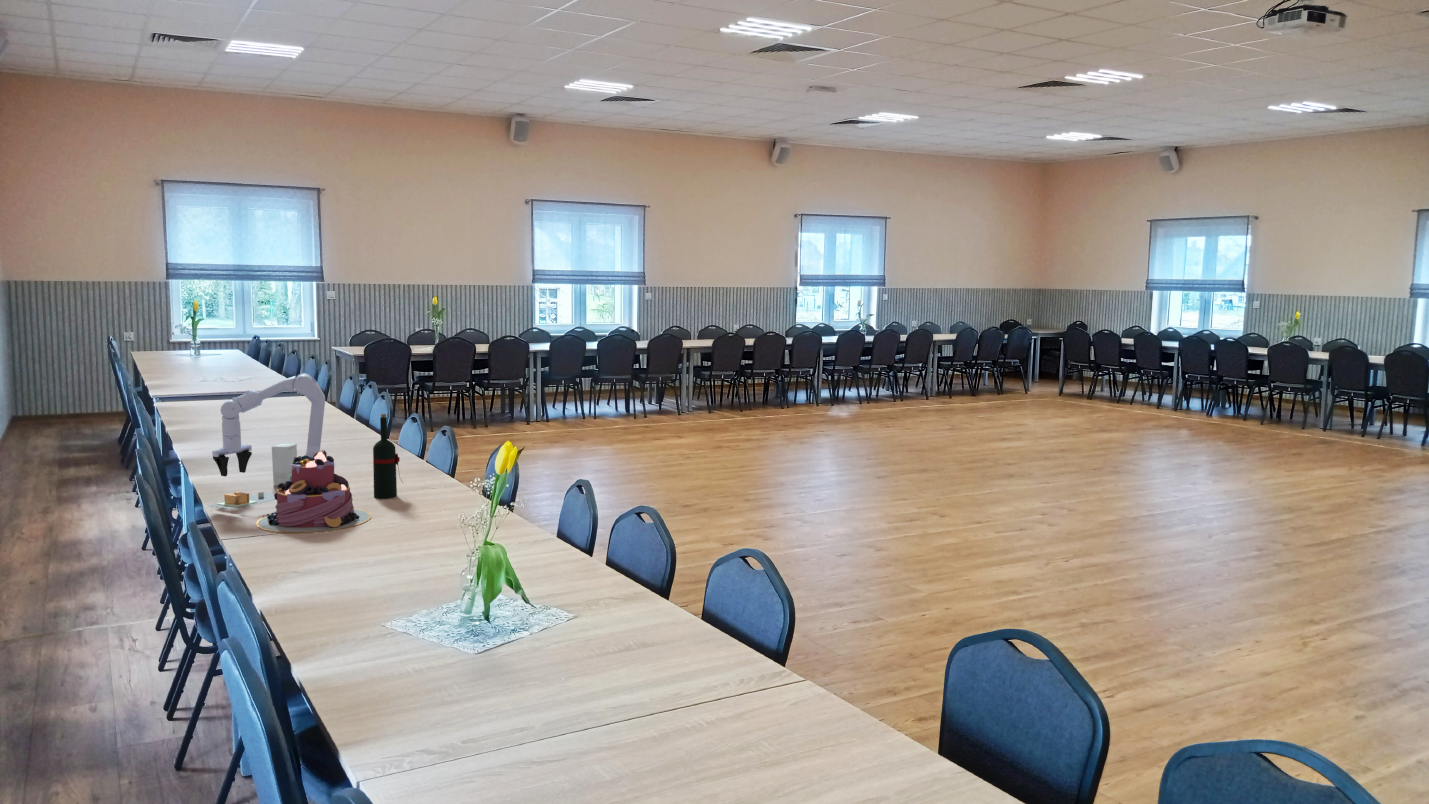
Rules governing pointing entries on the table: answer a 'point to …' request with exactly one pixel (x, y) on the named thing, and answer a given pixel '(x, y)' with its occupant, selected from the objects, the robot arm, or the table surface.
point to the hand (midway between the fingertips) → (233, 474)
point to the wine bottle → (385, 465)
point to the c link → (236, 498)
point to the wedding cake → (313, 500)
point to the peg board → (253, 500)
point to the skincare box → (283, 462)
